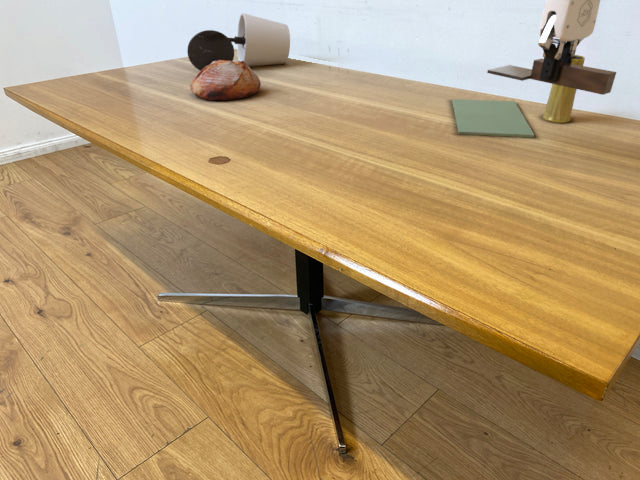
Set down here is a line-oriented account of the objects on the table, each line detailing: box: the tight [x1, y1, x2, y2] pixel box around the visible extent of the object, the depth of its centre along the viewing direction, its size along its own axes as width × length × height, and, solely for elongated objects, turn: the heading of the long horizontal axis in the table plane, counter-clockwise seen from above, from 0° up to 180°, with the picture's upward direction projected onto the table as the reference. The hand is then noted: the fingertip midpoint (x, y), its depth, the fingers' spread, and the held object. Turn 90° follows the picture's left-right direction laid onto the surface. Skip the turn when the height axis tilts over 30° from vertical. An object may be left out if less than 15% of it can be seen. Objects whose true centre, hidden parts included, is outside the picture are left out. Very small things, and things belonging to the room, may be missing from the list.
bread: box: [189, 60, 262, 102], centre depth 136 cm, size 16×20×10 cm
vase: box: [542, 54, 586, 124], centre depth 112 cm, size 6×6×14 cm
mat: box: [451, 98, 536, 138], centre depth 117 cm, size 16×26×1 cm, turn 170°
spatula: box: [486, 58, 617, 96], centre depth 89 cm, size 22×7×3 cm, turn 36°
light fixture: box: [186, 12, 291, 72], centre depth 163 cm, size 17×19×34 cm
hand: (553, 78), depth 89 cm, fingers closed on spatula, 2 cm apart
